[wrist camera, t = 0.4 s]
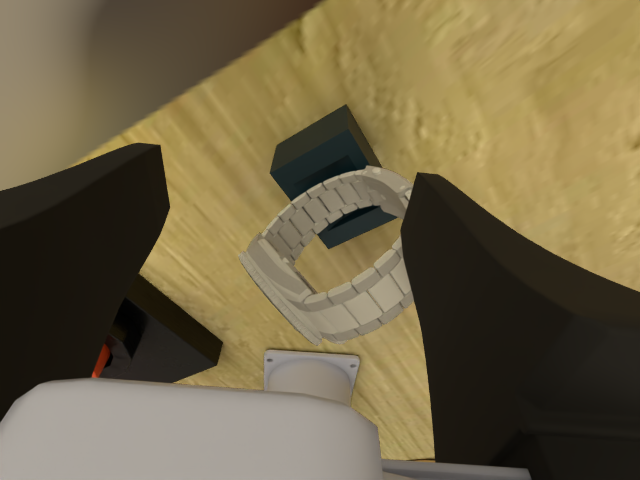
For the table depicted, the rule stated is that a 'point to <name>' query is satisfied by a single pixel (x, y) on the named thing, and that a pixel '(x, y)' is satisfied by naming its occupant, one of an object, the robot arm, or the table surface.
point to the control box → (156, 339)
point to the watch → (331, 231)
